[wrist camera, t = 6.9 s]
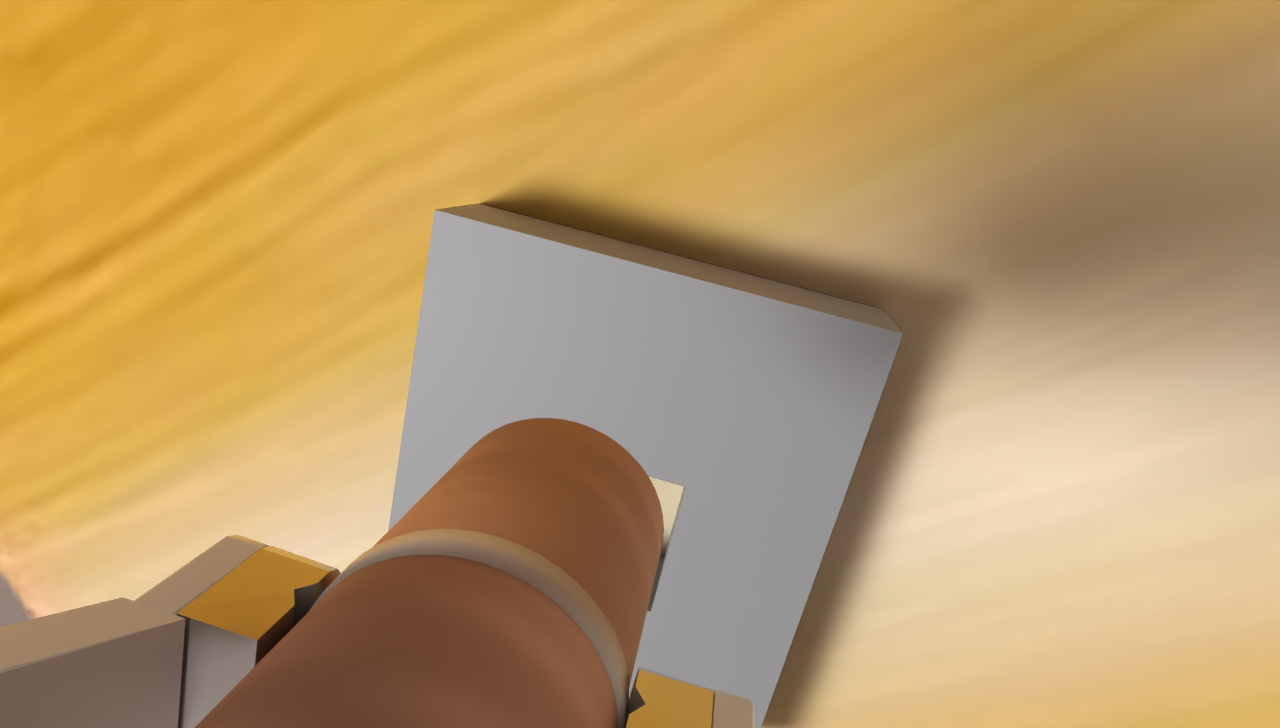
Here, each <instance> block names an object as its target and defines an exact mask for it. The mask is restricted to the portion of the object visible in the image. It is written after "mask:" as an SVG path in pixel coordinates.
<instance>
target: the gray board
mask: <svg viewBox="0 0 1280 728" xmlns="http://www.w3.org/2000/svg"><path fill="white" fill-rule="evenodd" d="M902 337H903V333H902V331H901V330H900V329H899V328H898V327H897V325H896V324H895V323H894V322H893V321H892V319H891V318H890V317H889V316H888V315H887V313H886V312H885V311H884V310H883V309H880V308H876V307H872V306H868V305H865V304H861V303H857V302H853V301H849V300H845V299H842V298H838V297H834V296H830V295H826V294H823V293H819V292H815V291H811V290H807V289H803V288H800V287H796V286H792V285H788V284H784V283H781V282H777V281H773V280H769V279H765V278H762V277H758V276H754V275H750V274H746V273H742V272H739V271H735V270H731V269H727V268H723V267H720V266H716V265H712V264H708V263H704V262H701V261H697V260H693V259H689V258H685V257H681V256H678V255H674V254H670V253H666V252H662V251H659V250H655V249H651V248H647V247H643V246H639V245H636V244H632V243H628V242H624V241H620V240H617V239H613V238H609V237H605V236H601V235H598V234H594V233H590V232H586V231H582V230H578V229H575V228H571V227H567V226H563V225H559V224H556V223H552V222H548V221H544V220H540V219H536V218H533V217H529V216H525V215H521V214H517V213H514V212H510V211H506V210H502V209H498V208H495V207H491V206H487V205H483V204H472V205H465V206H458V207H451V208H444V209H437V210H435V212H434V219H433V226H432V233H431V240H430V247H429V254H428V261H427V268H426V275H425V282H424V288H423V295H422V302H421V309H420V316H419V323H418V330H417V337H416V344H415V351H414V358H413V364H412V371H411V378H410V385H409V392H408V399H407V406H406V413H405V420H404V427H403V434H402V441H401V447H400V454H399V461H398V468H397V475H396V482H395V489H394V496H393V503H392V510H391V517H390V523H389V530H390V529H391V528H392V527H393V526H394V525H395V524H396V523H397V522H398V521H399V520H400V519H401V518H402V517H403V516H404V515H405V514H406V513H407V512H408V511H409V510H410V509H411V508H412V507H413V506H414V505H415V504H416V503H417V502H418V501H419V500H420V499H421V498H422V497H423V496H424V495H425V494H426V493H427V492H428V491H429V490H430V489H431V488H432V487H433V486H434V485H435V484H436V483H437V482H438V481H439V480H440V479H441V478H442V477H443V476H444V475H445V474H446V472H447V471H448V470H449V469H450V468H451V467H452V466H453V465H454V464H455V463H456V462H457V461H458V460H459V459H460V458H461V457H462V456H463V455H464V454H465V453H466V452H467V451H468V450H469V449H470V448H471V447H472V446H473V445H474V444H476V443H477V442H478V441H479V440H480V439H481V438H482V437H484V436H485V435H487V434H489V433H490V432H492V431H493V430H495V429H497V428H499V427H502V426H504V425H506V424H509V423H513V422H516V421H519V420H525V419H532V418H555V419H564V420H568V421H573V422H577V423H580V424H583V425H585V426H588V427H591V428H593V429H595V430H597V431H599V432H601V433H603V434H605V435H607V436H608V437H610V438H611V439H613V440H614V441H616V442H617V443H619V444H620V445H621V446H622V447H623V448H624V449H626V450H627V451H628V452H629V453H630V454H631V455H632V456H633V457H634V458H635V459H636V461H637V462H638V463H639V464H640V465H641V467H642V468H643V470H644V471H645V472H646V474H647V475H648V476H650V477H653V478H657V479H660V480H663V481H667V482H670V483H674V484H677V485H681V486H684V489H683V493H682V496H681V500H680V503H679V507H678V510H677V514H676V517H675V521H674V524H673V528H672V531H671V535H670V538H669V542H668V546H667V549H666V553H665V556H661V555H660V557H659V562H658V566H657V570H656V575H655V579H654V583H653V588H652V592H651V596H650V601H649V605H648V609H647V613H646V618H645V622H644V626H643V631H642V635H641V639H640V644H639V648H638V652H637V657H636V661H635V665H634V669H633V674H632V678H631V682H630V687H629V697H630V693H631V690H632V686H633V683H634V680H635V677H636V674H637V671H638V668H639V667H642V668H645V669H649V670H652V671H655V672H658V673H661V674H664V675H668V676H671V677H674V678H677V679H680V680H683V681H687V682H690V683H693V684H696V685H699V686H702V687H706V688H709V689H711V690H713V689H716V690H719V691H723V692H726V693H729V694H733V695H736V696H740V697H743V698H746V699H750V700H751V701H752V703H753V705H754V728H761V726H762V723H763V721H764V718H765V715H766V712H767V709H768V707H769V704H770V701H771V698H772V696H773V693H774V690H775V687H776V685H777V682H778V679H779V676H780V674H781V671H782V668H783V665H784V663H785V660H786V657H787V654H788V651H789V649H790V646H791V643H792V640H793V638H794V635H795V632H796V629H797V627H798V624H799V621H800V618H801V616H802V613H803V610H804V607H805V605H806V602H807V599H808V596H809V593H810V591H811V588H812V585H813V582H814V580H815V577H816V574H817V571H818V569H819V566H820V563H821V560H822V558H823V555H824V552H825V549H826V547H827V544H828V541H829V538H830V535H831V533H832V530H833V527H834V524H835V522H836V519H837V516H838V513H839V511H840V508H841V505H842V502H843V500H844V497H845V494H846V491H847V489H848V486H849V483H850V480H851V477H852V475H853V472H854V469H855V466H856V464H857V461H858V458H859V455H860V453H861V450H862V447H863V444H864V442H865V439H866V436H867V433H868V431H869V428H870V425H871V422H872V419H873V417H874V414H875V411H876V408H877V406H878V403H879V400H880V397H881V395H882V392H883V389H884V386H885V384H886V381H887V378H888V375H889V372H890V370H891V367H892V364H893V361H894V359H895V356H896V353H897V350H898V348H899V345H900V342H901V339H902ZM389 530H388V531H389Z"/></svg>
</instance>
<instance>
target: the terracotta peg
mask: <svg viewBox="0 0 1280 728" xmlns="http://www.w3.org/2000/svg"><path fill="white" fill-rule="evenodd" d="M663 533H664V526H663V515H662V510H661V506H660V501H659V499H658V496H657V493H656V491H655V488H654V486H653V484H652V482H651V481H650V479H649V477H648V475H647V474H646V472H645V471H644V470H643V468H642V467H641V465H640V464H639V463H638V462H637V461H636V459H635V458H634V457H633V456H632V455H631V454H630V453H629V452H628V451H627V450H626V449H624V448H623V447H622V446H621V445H620V444H619V443H617V442H616V441H614V440H613V439H611V438H610V437H608V436H607V435H605V434H603V433H601V432H599V431H597V430H595V429H593V428H591V427H588V426H585V425H583V424H580V423H577V422H573V421H568V420H564V419H555V418H532V419H525V420H519V421H516V422H513V423H509V424H506V425H504V426H502V427H499V428H497V429H495V430H493V431H492V432H490V433H489V434H487V435H485V436H484V437H482V438H481V439H480V440H479V441H478V442H477V443H476V444H474V445H473V446H472V447H471V448H470V449H469V450H468V451H467V452H466V453H465V454H464V455H463V456H462V457H461V458H460V459H459V460H458V461H457V462H456V463H455V464H454V465H453V466H452V467H451V468H450V469H449V470H448V471H447V472H446V474H445V475H444V476H443V477H442V478H441V479H440V480H439V481H438V482H437V483H436V484H435V485H434V486H433V487H432V488H431V489H430V490H429V491H428V492H427V493H426V494H425V495H424V496H423V497H422V498H421V499H420V500H419V501H418V502H417V503H416V504H415V505H414V506H413V507H412V508H411V509H410V510H409V511H408V512H407V513H406V514H405V515H404V516H403V517H402V518H401V519H400V520H399V521H398V522H397V523H396V524H395V525H394V526H393V527H392V528H391V529H390V530H389V531H388V532H387V533H386V534H385V535H384V536H383V537H382V538H381V539H380V540H379V541H378V542H377V543H376V544H375V545H374V546H373V547H372V548H371V549H369V550H368V551H366V552H365V553H363V554H362V555H361V556H359V557H358V558H357V559H356V560H355V561H354V562H352V563H351V564H350V565H349V566H348V567H347V568H346V569H345V570H344V571H343V572H342V573H341V574H340V575H339V576H338V577H337V578H336V579H335V580H334V581H333V582H332V583H331V584H330V585H329V586H328V587H327V588H326V589H325V590H324V591H323V593H322V594H321V595H320V596H319V597H318V599H317V600H316V601H315V602H314V604H313V606H312V607H311V609H310V611H309V612H308V613H307V614H306V615H305V616H304V617H303V618H302V619H301V620H300V621H299V622H298V623H297V624H296V625H295V626H294V627H293V628H292V629H291V630H290V631H289V632H288V633H287V634H286V635H285V636H284V638H283V639H282V640H281V641H280V642H279V643H278V644H277V645H276V646H275V647H274V648H273V649H272V650H271V651H270V652H269V653H268V654H267V655H266V656H265V657H264V658H263V659H262V660H261V661H260V662H259V663H258V664H257V665H256V666H255V667H254V668H253V669H252V670H251V671H250V672H249V673H248V674H247V675H246V676H245V677H244V678H243V679H242V680H241V681H240V682H239V683H238V684H237V685H236V686H235V687H234V688H233V689H232V690H231V691H230V692H229V693H228V694H227V695H226V696H225V697H224V698H223V699H222V700H221V701H220V702H219V703H218V704H217V705H216V706H215V707H214V708H213V709H212V710H211V711H210V712H209V713H208V714H207V715H206V716H205V717H204V718H203V720H202V721H201V722H200V723H199V724H198V725H197V726H196V727H195V728H624V726H625V717H626V713H627V709H628V704H629V687H630V682H631V678H632V674H633V669H634V665H635V661H636V657H637V652H638V648H639V644H640V639H641V635H642V631H643V626H644V622H645V618H646V613H647V609H648V605H649V601H650V596H651V592H652V588H653V583H654V579H655V575H656V570H657V566H658V562H659V557H660V553H661V548H662V544H663Z"/></svg>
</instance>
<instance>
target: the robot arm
mask: <svg viewBox="0 0 1280 728" xmlns="http://www.w3.org/2000/svg"><path fill="white" fill-rule="evenodd" d="M340 574H341V573H340V572H339V570H338V569H336V568H333V567H330V566H327V565H325V564H322V563H319V562H316V561H313V560H310V559H307V558H305V557H302V556H299V555H296V554H293V553H290V552H287V551H285V550H282V549H279V548H276V547H273V546H268V545H266V544H263V543H260V542H257V541H254V540H251V539H248V538H245V537H242V536H239V535H234V536H227V537H225V538H223V539H222V540H221V541H219V542H218V543H216V544H215V545H213V546H212V547H211V548H209V549H208V550H206V551H205V552H203V553H202V554H200V555H199V556H198V557H196V558H195V559H193V560H192V561H190V562H189V563H188V564H186V565H185V566H183V567H182V568H180V569H179V570H178V571H176V572H175V573H173V574H172V575H170V576H169V577H168V578H166V579H165V580H163V581H162V582H160V583H159V584H158V585H156V586H155V587H153V588H152V589H150V590H149V591H148V592H146V593H145V594H143V595H142V596H140V597H139V598H138V599H136V600H135V601H132V600H129V599H126V598H119V599H114V600H110V601H106V602H102V603H98V604H94V605H90V606H86V607H81V608H77V609H73V610H69V611H65V612H61V613H57V614H53V615H48V616H44V617H40V618H36V619H32V620H28V621H24V622H20V623H15V624H11V625H7V626H3V627H0V728H195V727H196V726H197V725H198V724H199V723H200V722H201V721H202V720H203V718H204V717H205V716H206V715H207V714H208V713H209V712H210V711H211V710H212V709H213V708H214V707H215V706H216V705H217V704H218V703H219V702H220V701H221V700H222V699H223V698H224V697H225V696H226V695H227V694H228V693H229V692H230V691H231V690H232V689H233V688H234V687H235V686H236V685H237V684H238V683H239V682H240V681H241V680H242V679H243V678H244V677H245V676H246V675H247V674H248V673H249V672H250V671H251V670H252V669H253V668H254V667H255V666H256V665H257V664H258V663H259V662H260V661H261V660H262V659H263V658H264V657H265V656H266V655H267V654H268V653H269V652H270V651H271V650H272V649H273V648H274V647H275V646H276V645H277V644H278V643H279V642H280V641H281V640H282V639H283V638H284V636H285V635H286V634H287V633H288V632H289V631H290V630H291V629H292V628H293V627H294V626H295V625H296V624H297V623H298V622H299V621H300V620H301V619H302V618H303V617H304V616H305V615H306V614H307V613H308V612H309V611H310V609H311V607H312V606H313V604H314V602H315V601H316V600H317V599H318V597H319V596H320V595H321V594H322V593H323V591H324V590H325V589H326V588H327V587H328V586H329V585H330V584H331V583H332V582H333V581H334V580H335V579H336V578H337V577H338V576H339V575H340ZM624 728H754V705H753V703H752V701H751V700H750V699H746V698H743V697H740V696H736V695H733V694H729V693H726V692H723V691H719V690H716V689H713V690H711V689H709V688H706V687H702V686H699V685H696V684H693V683H690V682H687V681H683V680H680V679H677V678H674V677H671V676H668V675H664V674H661V673H658V672H655V671H652V670H649V669H645V668H642V667H639V668H638V671H637V674H636V677H635V680H634V683H633V686H632V690H631V693H630V697H629V704H628V709H627V713H626V717H625V726H624Z"/></svg>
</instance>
